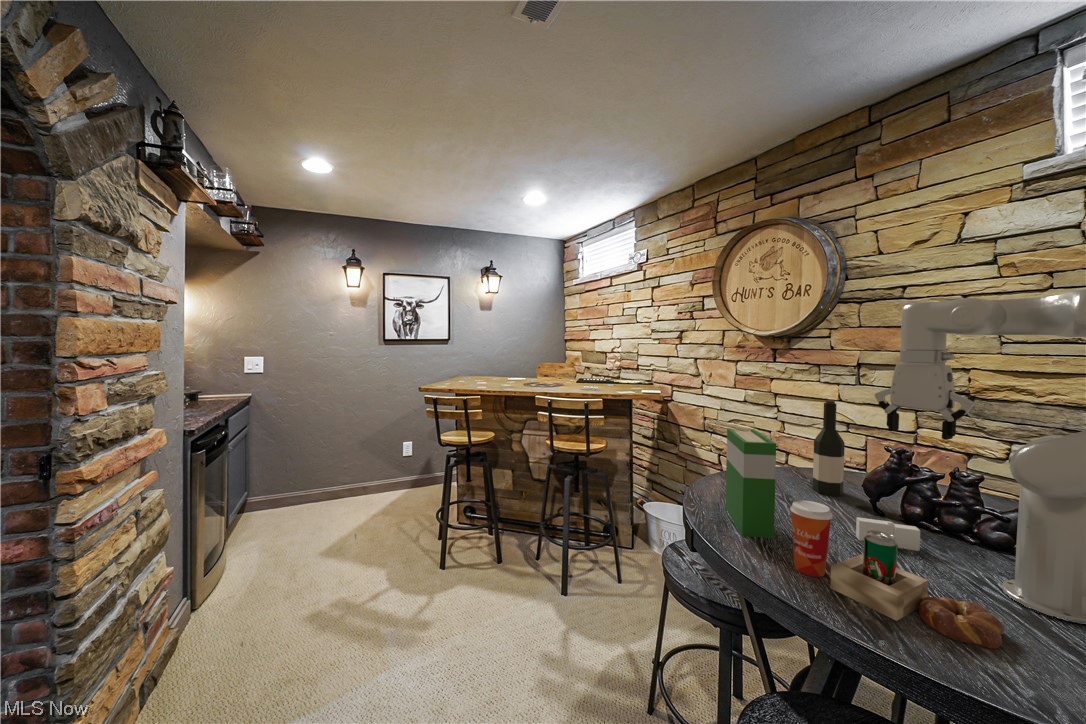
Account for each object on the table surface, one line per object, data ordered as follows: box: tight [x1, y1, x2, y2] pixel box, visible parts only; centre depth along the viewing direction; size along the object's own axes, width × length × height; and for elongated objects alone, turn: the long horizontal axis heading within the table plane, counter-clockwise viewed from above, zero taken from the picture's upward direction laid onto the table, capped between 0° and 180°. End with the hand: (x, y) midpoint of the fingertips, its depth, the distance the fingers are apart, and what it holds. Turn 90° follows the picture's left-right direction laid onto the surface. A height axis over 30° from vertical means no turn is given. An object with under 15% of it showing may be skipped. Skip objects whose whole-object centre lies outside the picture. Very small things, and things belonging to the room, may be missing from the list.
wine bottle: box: [812, 399, 846, 497], centre depth 137 cm, size 8×8×30 cm
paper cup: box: [789, 499, 834, 578], centre depth 90 cm, size 8×8×14 cm
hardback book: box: [725, 427, 777, 539], centre depth 113 cm, size 18×7×24 cm, turn 169°
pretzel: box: [918, 596, 1005, 649], centre depth 72 cm, size 12×11×4 cm
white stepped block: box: [855, 516, 921, 552], centre depth 101 cm, size 15×11×6 cm
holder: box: [829, 553, 929, 622], centre depth 81 cm, size 11×11×4 cm
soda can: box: [862, 530, 899, 586], centre depth 80 cm, size 5×5×12 cm
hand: (919, 434), depth 94 cm, fingers open, 9 cm apart
